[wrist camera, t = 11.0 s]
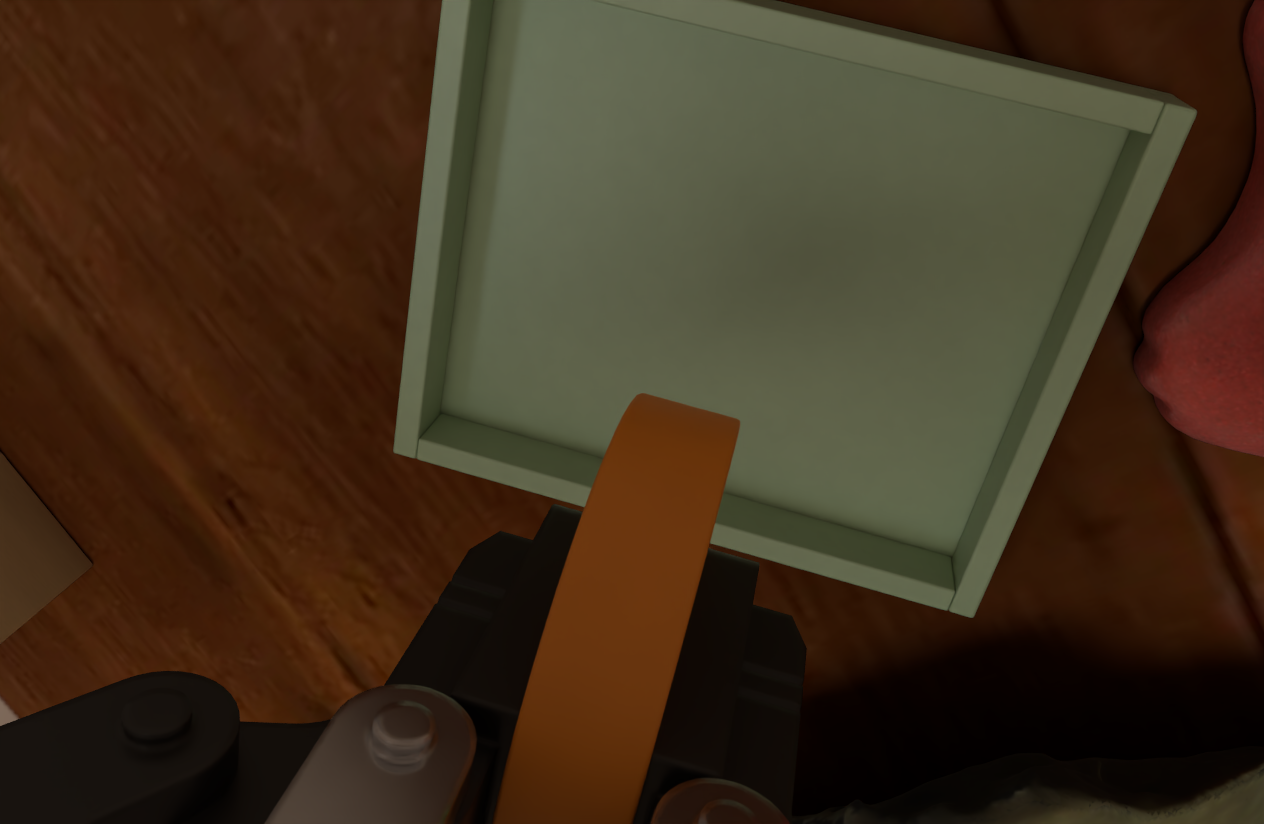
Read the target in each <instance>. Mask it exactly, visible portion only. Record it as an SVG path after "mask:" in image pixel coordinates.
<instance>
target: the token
mask: <svg viewBox="0 0 1264 824" xmlns="http://www.w3.org/2000/svg"><path fill="white" fill-rule="evenodd" d="M739 429H740V420H738V419H737V418H733V417H729V416H726V415H722V414H718V413H715V412H711V411H708V410H704V409H700V408H697V407H693V406H689V405H686V404H682V403H678V402H675V401H671V400H668V399H664V398H660V397H657V396H653V395H649V394H646V393H640V394H638V395H636V396H635V398H634V399H633V400H632V401H631V403H630V404H629V406H628V407H627V409H626V411H625V412H624V414H623V416H622V418H621V420H620V422H619V424H618V426H617V428H616V430H615V432H614V435H613V437H612V439H611V441H610V444H609V446H608V448H607V451H606V453H605V455H604V458H603V460H602V463H601V465H600V468H599V470H598V473H597V475H596V478H595V480H594V483H593V486H592V488H591V491H590V494H589V496H588V499H587V502H586V505H585V507H584V510H583V513H582V515H581V518H580V521H579V524H578V527H577V530H576V533H575V535H574V538H573V541H572V544H571V547H570V550H569V553H568V556H567V559H566V562H565V565H564V568H563V571H562V574H561V577H560V580H559V583H558V586H557V589H556V592H555V595H554V598H553V602H552V605H551V608H550V611H549V614H548V618H547V621H546V624H545V627H544V630H543V633H542V637H541V640H540V644H539V647H538V650H537V654H536V657H535V660H534V664H533V667H532V670H531V674H530V677H529V681H528V684H527V688H526V691H525V695H524V698H523V702H522V706H521V709H520V713H519V716H518V720H517V724H516V727H515V731H514V735H513V739H512V742H511V746H510V750H509V754H508V757H507V761H506V765H505V769H504V774H503V778H502V782H501V786H500V790H499V794H498V798H497V802H496V807H495V811H494V816H493V820H492V824H633V821H634V818H635V814H636V811H637V807H638V804H639V800H640V796H641V793H642V789H643V786H644V782H645V778H646V775H647V771H648V768H649V764H650V760H651V757H652V753H653V750H654V746H655V742H656V739H657V735H658V732H659V728H660V724H661V721H662V717H663V713H664V710H665V706H666V703H667V699H668V695H669V692H670V688H671V684H672V681H673V677H674V673H675V670H676V666H677V662H678V659H679V655H680V651H681V648H682V644H683V640H684V637H685V633H686V630H687V626H688V622H689V618H690V615H691V611H692V607H693V604H694V600H695V596H696V593H697V589H698V585H699V582H700V578H701V574H702V570H703V567H704V563H705V559H706V556H707V552H708V548H709V544H710V541H711V537H712V533H713V530H714V526H715V522H716V518H717V515H718V511H719V507H720V503H721V499H722V496H723V492H724V488H725V484H726V480H727V477H728V473H729V469H730V465H731V461H732V457H733V453H734V450H735V446H736V442H737V438H738V433H739Z"/></svg>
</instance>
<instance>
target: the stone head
mask: <svg viewBox="0 0 1264 824" xmlns="http://www.w3.org/2000/svg"><path fill="white" fill-rule="evenodd" d="M792 824H1264V747H1259V746H1247V747H1239V748H1233V749H1229V750H1224V751H1218V752H1205V753H1201V754H1198V755H1195V756H1190V757H1184V758H1176V757H1164V758H1149V759H1138V760H1119V759H1111V758H1110V759H1106V758H1100V757H1092V758H1086V759H1080V760H1071V761H1059V760H1056V759H1053V758H1051V757H1049V756H1048V755H1045V754H1043V753H1017V754H1013V755H1009V756H1005V757H1002V758H999V759H996V760H993V761H990V762H988V763H984V764H980V765H975V766H970V767H967V768H965V769H963V770H961V771H959V772H956V773H953V774H950V775H947V776H944V777H941V778H938V779H935V780H932V781H929V782H927V783H924V784H922V785H920V786H918V787H916V788H914V789H912V790H910V791H908V792H906V793H904V794H901V795H899V796H897V797H894V798H892V799H889V800H885V801H883V802H880V803H876V804H872V805H868V804H865V803H863V802H862V801H860V800H858V799H857V800H854V801H853V802H851V803H850V804H849V805H847V806H846V807H844V806H839V807H831V808H828V809H826V810H824V811H823V812H821V813H818V814H814V815H804V816H792Z"/></svg>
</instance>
